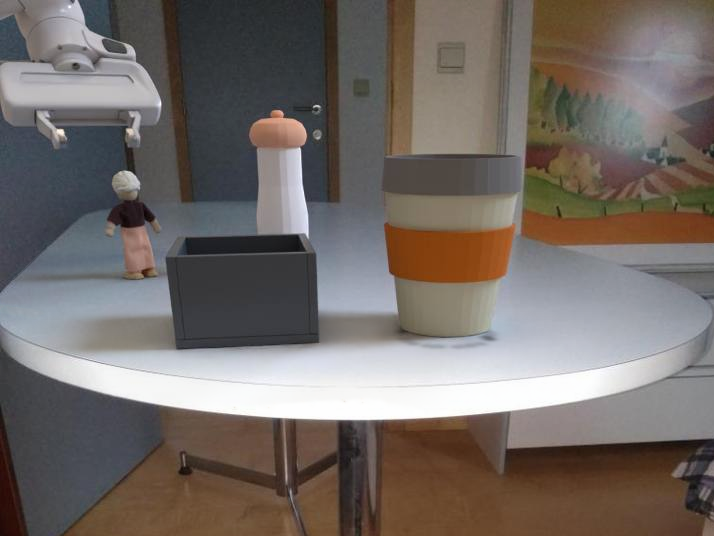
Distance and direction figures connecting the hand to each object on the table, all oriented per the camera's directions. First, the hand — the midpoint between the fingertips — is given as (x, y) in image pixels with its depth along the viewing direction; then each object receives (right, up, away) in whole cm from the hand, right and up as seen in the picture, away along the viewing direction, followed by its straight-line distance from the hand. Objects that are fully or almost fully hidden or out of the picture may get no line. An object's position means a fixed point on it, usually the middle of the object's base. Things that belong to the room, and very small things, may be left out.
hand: (99, 144), depth 94 cm
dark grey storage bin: (+23, -29, -25) cm, 45 cm away
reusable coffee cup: (+43, -29, -24) cm, 57 cm away
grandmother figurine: (+5, -18, -1) cm, 18 cm away
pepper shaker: (+24, -16, +2) cm, 29 cm away
